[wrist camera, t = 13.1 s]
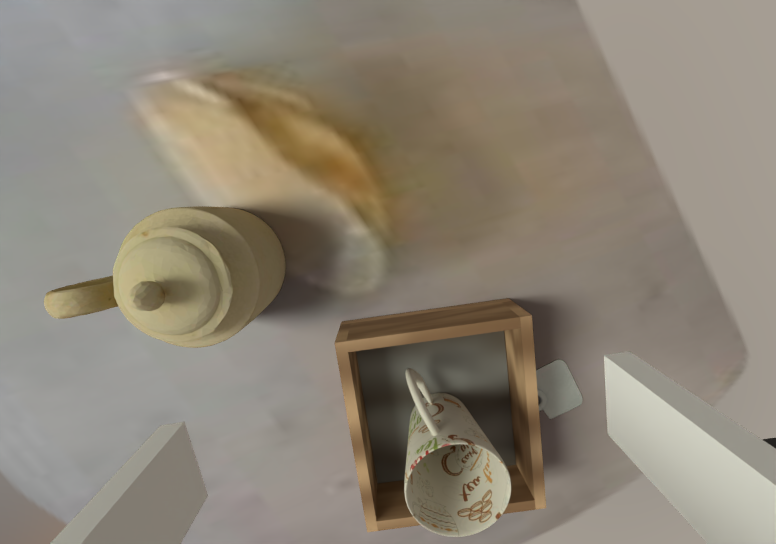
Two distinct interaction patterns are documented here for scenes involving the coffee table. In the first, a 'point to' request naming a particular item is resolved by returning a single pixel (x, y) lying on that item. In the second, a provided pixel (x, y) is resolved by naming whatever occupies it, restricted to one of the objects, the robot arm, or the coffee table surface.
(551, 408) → the mounting bracket
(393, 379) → the open wooden crate
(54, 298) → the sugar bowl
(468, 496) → the mug
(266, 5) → the coffee table surface
